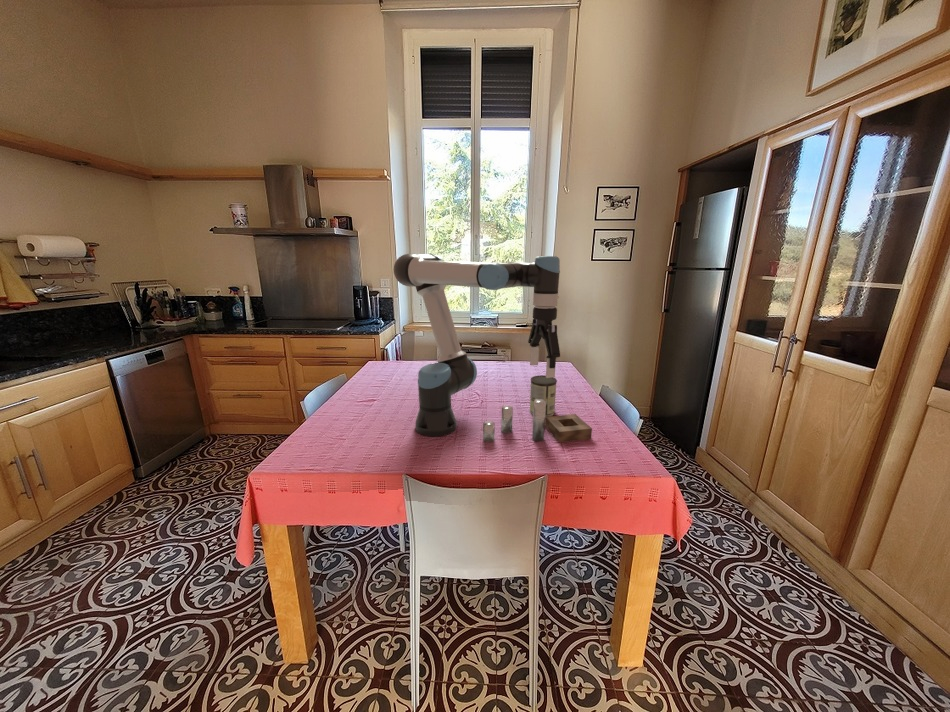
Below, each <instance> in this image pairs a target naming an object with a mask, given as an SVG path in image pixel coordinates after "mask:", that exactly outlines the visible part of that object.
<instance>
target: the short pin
mask: <svg viewBox="0 0 950 712" xmlns="http://www.w3.org/2000/svg"><path fill="white" fill-rule="evenodd" d="M495 425H496V424H495V422H494V421H490V420H486V421H484V422H483V424H482V440H483V442H485V443H493V442H495V439H496V437H495V436H496V435H495V434H496V433H495V432H496V431H495V429H496V426H495Z"/></svg>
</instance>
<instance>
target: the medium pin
mask: <svg viewBox="0 0 950 712" xmlns="http://www.w3.org/2000/svg"><path fill="white" fill-rule="evenodd" d="M513 409H514V407H513V406H512V405H502V407H501V419H500V420H501V427H500V429H501V430H500V431H501V432H502V433H504V434H511V433H512V432H513V419H514V418H513V417H514V416H513V415H514V414H513V413H514V412H513V411H514V410H513Z"/></svg>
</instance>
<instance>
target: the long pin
mask: <svg viewBox="0 0 950 712" xmlns="http://www.w3.org/2000/svg"><path fill="white" fill-rule="evenodd" d="M545 411H546V401H545V400H542V399H536V400H534V412H533V414H532V415H533V416H532V433H531V435H532V436H531V439H532V440H533V441H535V442H543V441H545V428H546V427H545V422H546V417H545Z"/></svg>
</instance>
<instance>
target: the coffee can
mask: <svg viewBox="0 0 950 712" xmlns="http://www.w3.org/2000/svg"><path fill="white" fill-rule="evenodd" d="M557 382H558V380H557V378H555V377H552V378H546V375H543V374H542V375H540V374H539V375H534V376H532V377H530V396H529V397H530V398H529V413H530V414H531V415H533V412H534V400H536V399H542V400H545V401H546V411H545V418H546V417H550V416H553V415H554V414H555V413H556V412H555V411H556V393H557ZM554 416H555V415H554Z"/></svg>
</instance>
